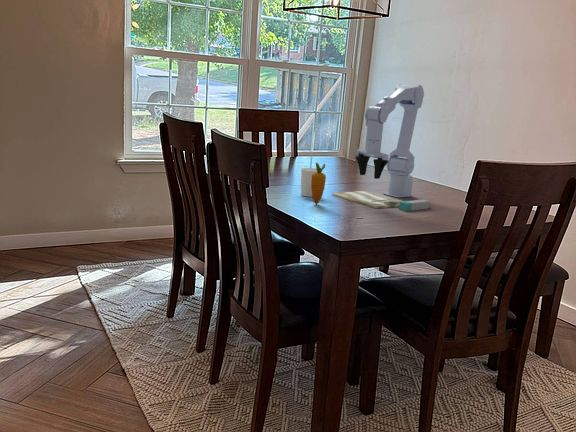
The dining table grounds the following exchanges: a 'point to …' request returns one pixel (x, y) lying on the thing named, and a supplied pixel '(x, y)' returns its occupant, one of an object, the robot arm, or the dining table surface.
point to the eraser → (414, 205)
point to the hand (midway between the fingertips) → (369, 176)
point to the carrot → (318, 183)
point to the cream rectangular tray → (369, 199)
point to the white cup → (307, 181)
